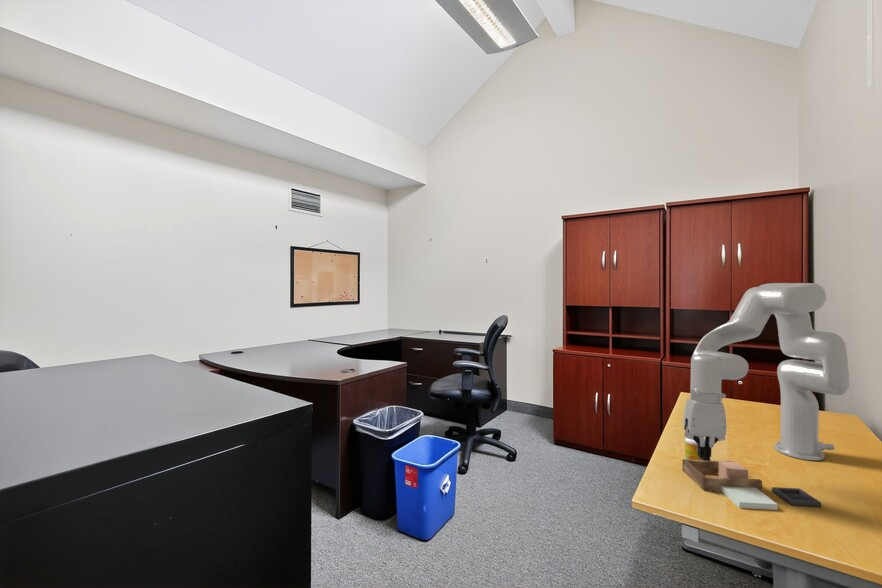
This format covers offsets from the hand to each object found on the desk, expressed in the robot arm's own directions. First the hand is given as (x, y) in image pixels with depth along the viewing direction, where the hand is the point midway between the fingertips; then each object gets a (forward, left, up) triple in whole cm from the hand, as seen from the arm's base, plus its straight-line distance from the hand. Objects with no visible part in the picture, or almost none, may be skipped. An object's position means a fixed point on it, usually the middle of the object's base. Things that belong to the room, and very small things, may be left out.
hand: (704, 458), depth 115 cm
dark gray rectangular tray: (-19, +8, -7) cm, 22 cm away
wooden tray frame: (-4, 0, -7) cm, 8 cm away
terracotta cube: (-8, 0, -7) cm, 10 cm away
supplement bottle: (-4, -13, -7) cm, 15 cm away
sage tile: (-6, +10, -7) cm, 13 cm away
